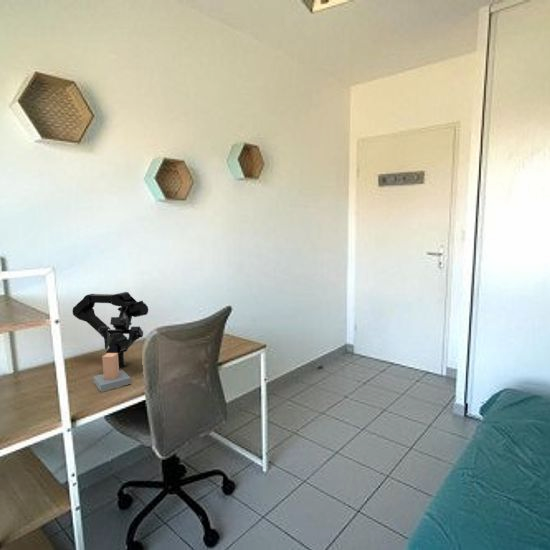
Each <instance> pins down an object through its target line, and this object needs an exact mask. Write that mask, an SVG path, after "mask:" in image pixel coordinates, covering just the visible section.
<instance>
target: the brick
mask: <svg viewBox="0 0 550 550" xmlns="http://www.w3.org/2000/svg"><path fill="white" fill-rule="evenodd" d="M101 360H102V371H103V373H102V374H104V379H116V378H117V377H118V376H119V370H120V368H119V362H118V353H106V354H104V355H102V357H101Z"/></svg>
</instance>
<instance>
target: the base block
mask: <svg viewBox="0 0 550 550" xmlns="http://www.w3.org/2000/svg"><path fill="white" fill-rule="evenodd" d="M131 378H132V377H130V376H129V375H128V374H127V373H126V372H125V371H124V370H123V369H119V376H118V377H117V378H116V379H104V373H102V374H98V375H93V384H94V385H95V386H96V388H97V389H98V390H99V392H100V391H101V392H100V393H105V392H108V391H107V390H109V391H111V390H110V389H113V388H116V389H119V388H118V387H120V388H122V387H121V386H124V385H127V384H131V385H132V380H131ZM124 387H125V386H124ZM113 390H114V389H113ZM104 391H105V392H104Z"/></svg>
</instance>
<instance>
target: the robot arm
mask: <svg viewBox="0 0 550 550" xmlns="http://www.w3.org/2000/svg"><path fill="white" fill-rule="evenodd" d="M95 304H111V305H112V306H116V307H118V308H117V311H118V312H119V315H118V316H114V317H112V316H111V317H110V323H109V324H110V325H111V326H112V328H113V329H112V328H110V326H108V325H107V324H106V323H105V322H104V321H103V320H101V318H100V317H98V316H97V315H96V314H95V309H94V307H95ZM71 311H72V312H71V313H72V316H74V317H75V318H77V320H81V321H83V322H86V323H87V324H88V325H90V327H92V329H94V330H95V331H96V332H97V333H98V334H99V335H100V336H101V337H102V338H103V339H104V349H105V350H106V351H105V352H106V354H107V353H118V362H119V369H120V368H124V367H127V366H128V364H127V363H126V361H125V353H126V352H128V349H129V348H130V347H131V346H132V345H133V343H135V342H136V341H137V340H139V339H140V338H143V336H144V330H143V329H142V327H140V326H132V323H133V322H132V319H133V318H138V317H143V316H147V315H148V313H149V307H148V306H147V304H146V303H145V302H144V301H143V300H140V301H137V300H136V299H135V298H134V297H133V296H132V295H131V294H130V292H128V291H123V292H118V293H116V294H115V293H114V294H113V293H111V294H108V293H107V294H105V293H102V294H101V293H90V294H89V293H88V294H87V295H85V296H83V298H82V299H81V300H80V301H79V302H77V304H75V306H73V308H72V310H71ZM126 334H127V335H128V337H127V336H126Z"/></svg>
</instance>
